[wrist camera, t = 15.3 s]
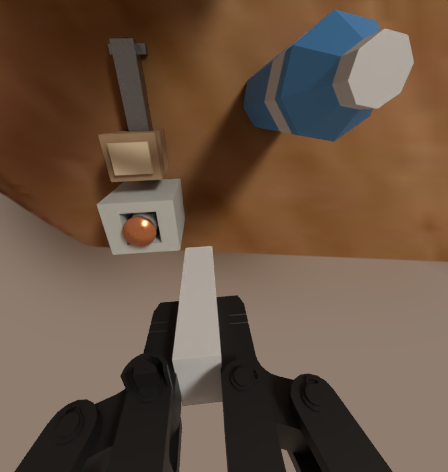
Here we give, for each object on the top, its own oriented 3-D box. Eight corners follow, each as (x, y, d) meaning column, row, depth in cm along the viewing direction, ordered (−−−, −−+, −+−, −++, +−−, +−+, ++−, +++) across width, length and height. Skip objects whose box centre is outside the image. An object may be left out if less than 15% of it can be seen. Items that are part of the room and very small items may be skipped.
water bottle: (247, 137, 38) (310, 165, 16) (236, 72, 34) (303, -11, 12) (300, 123, 38) (437, 131, 16) (296, 56, 33) (480, -62, 11)
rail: (109, 45, 31) (101, 38, 28) (146, 44, 31) (140, 38, 28) (137, 175, 39) (132, 179, 37) (165, 173, 40) (163, 177, 37)
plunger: (131, 203, 34) (118, 219, 29) (159, 202, 35) (152, 217, 29) (137, 228, 36) (126, 247, 31) (164, 227, 37) (158, 245, 31)
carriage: (120, 130, 36) (96, 135, 27) (164, 129, 36) (153, 133, 28) (129, 168, 38) (109, 183, 30) (170, 166, 39) (161, 180, 31)
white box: (122, 181, 40) (93, 204, 29) (180, 178, 40) (172, 200, 30) (132, 221, 43) (110, 255, 33) (185, 218, 44) (180, 250, 34)
